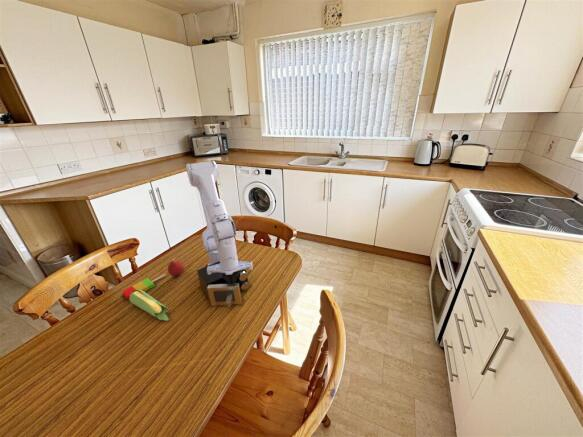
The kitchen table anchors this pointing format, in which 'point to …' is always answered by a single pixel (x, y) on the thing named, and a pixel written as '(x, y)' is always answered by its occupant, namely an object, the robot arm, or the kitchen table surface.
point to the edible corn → (148, 304)
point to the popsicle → (141, 286)
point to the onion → (175, 268)
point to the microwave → (220, 279)
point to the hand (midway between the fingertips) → (233, 287)
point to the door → (224, 294)
